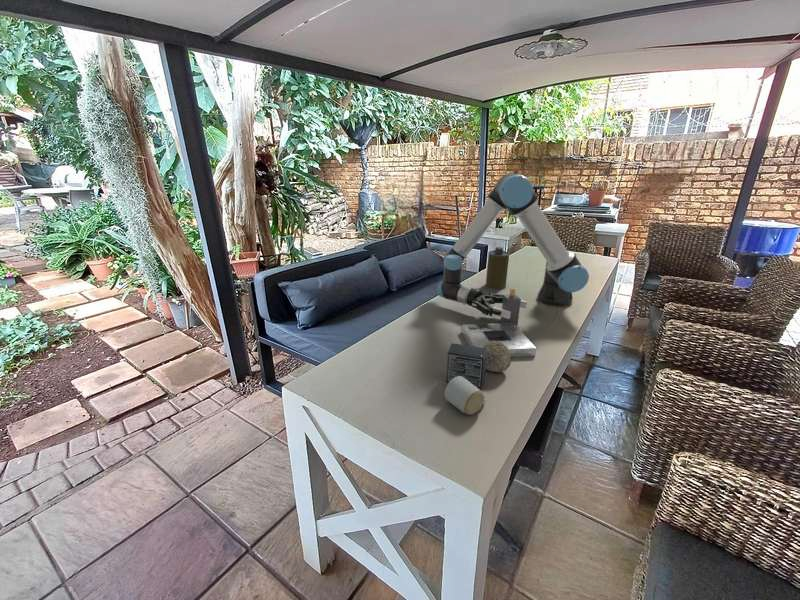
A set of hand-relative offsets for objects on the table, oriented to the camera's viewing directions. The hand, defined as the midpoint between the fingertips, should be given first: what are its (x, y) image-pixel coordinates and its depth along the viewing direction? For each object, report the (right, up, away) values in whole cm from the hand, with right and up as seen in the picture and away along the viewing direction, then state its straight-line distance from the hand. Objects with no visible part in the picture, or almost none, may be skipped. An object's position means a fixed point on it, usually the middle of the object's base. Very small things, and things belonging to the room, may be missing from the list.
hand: (518, 310), depth 140 cm
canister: (+4, +11, +49) cm, 51 cm away
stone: (-16, -18, -25) cm, 35 cm away
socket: (-11, -12, -9) cm, 18 cm away
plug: (-2, -6, +5) cm, 8 cm away
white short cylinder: (-27, -25, -42) cm, 56 cm away
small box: (-26, -20, -31) cm, 45 cm away
